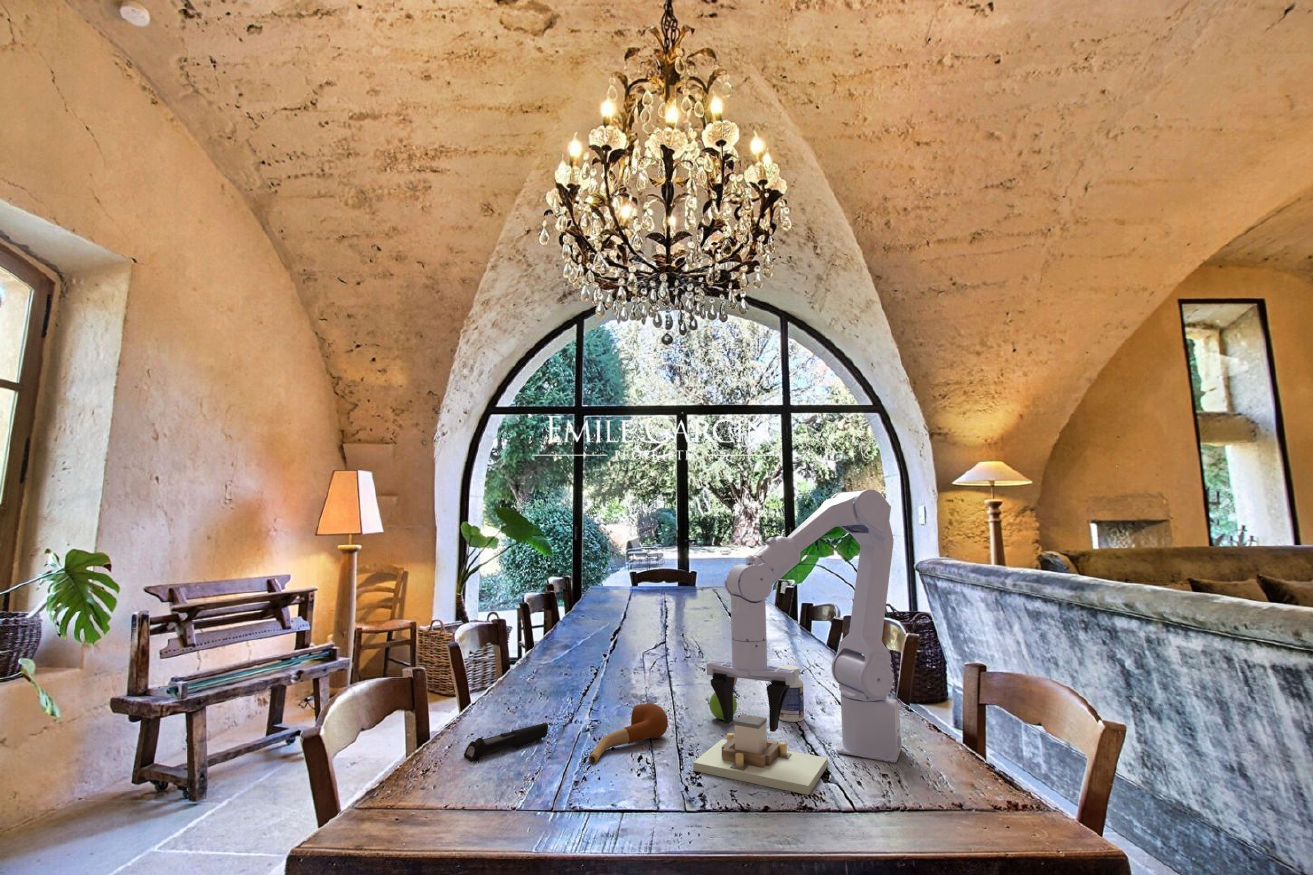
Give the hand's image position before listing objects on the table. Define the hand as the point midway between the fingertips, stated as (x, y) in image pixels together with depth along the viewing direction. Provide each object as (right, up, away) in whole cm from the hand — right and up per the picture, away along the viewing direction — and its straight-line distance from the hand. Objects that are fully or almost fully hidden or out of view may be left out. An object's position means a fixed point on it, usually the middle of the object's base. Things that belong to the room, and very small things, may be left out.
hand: (751, 726), depth 98 cm
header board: (+1, -5, -3) cm, 6 cm away
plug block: (0, -4, -1) cm, 5 cm away
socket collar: (0, -4, -1) cm, 5 cm away
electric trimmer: (-41, -7, +5) cm, 42 cm away
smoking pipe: (-19, -7, +7) cm, 22 cm away
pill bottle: (+11, -9, +22) cm, 27 cm away
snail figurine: (-2, -9, +21) cm, 23 cm away
